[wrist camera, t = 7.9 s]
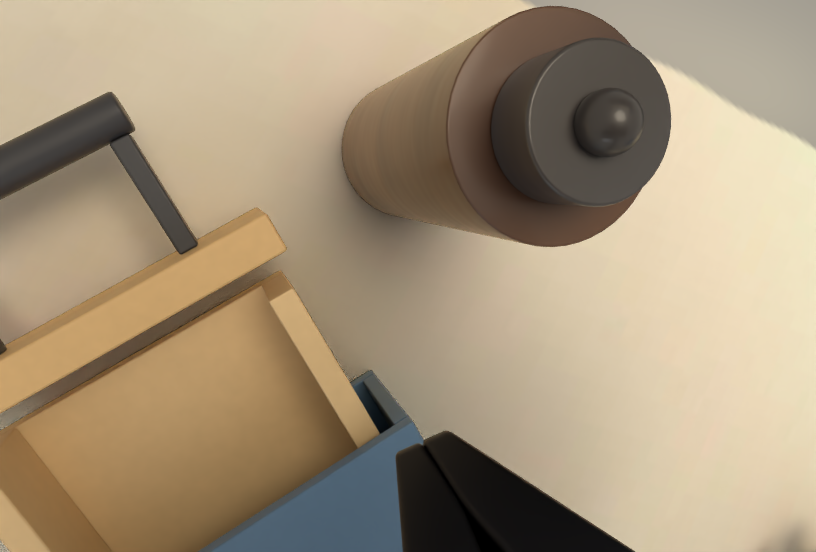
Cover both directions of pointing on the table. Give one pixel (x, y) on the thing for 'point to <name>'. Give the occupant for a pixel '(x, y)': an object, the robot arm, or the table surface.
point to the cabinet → (339, 494)
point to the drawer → (164, 382)
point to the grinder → (515, 131)
